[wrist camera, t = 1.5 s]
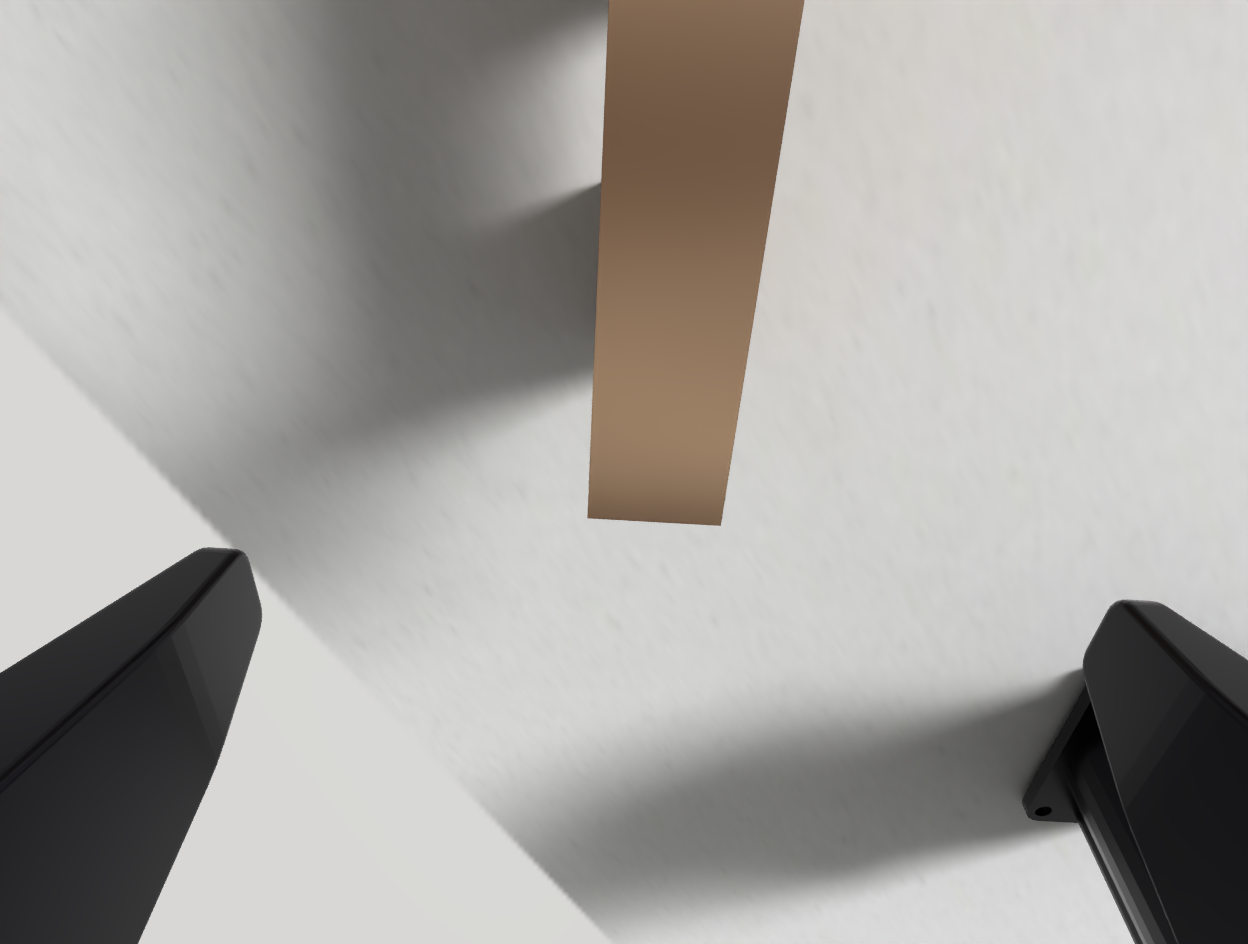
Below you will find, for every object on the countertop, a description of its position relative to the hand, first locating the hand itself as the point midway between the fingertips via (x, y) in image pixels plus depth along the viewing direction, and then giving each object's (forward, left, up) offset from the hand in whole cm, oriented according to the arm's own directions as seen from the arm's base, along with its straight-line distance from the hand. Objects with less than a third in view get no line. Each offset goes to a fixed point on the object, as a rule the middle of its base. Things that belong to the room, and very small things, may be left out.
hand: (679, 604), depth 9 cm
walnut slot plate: (+3, 0, -9) cm, 10 cm away
